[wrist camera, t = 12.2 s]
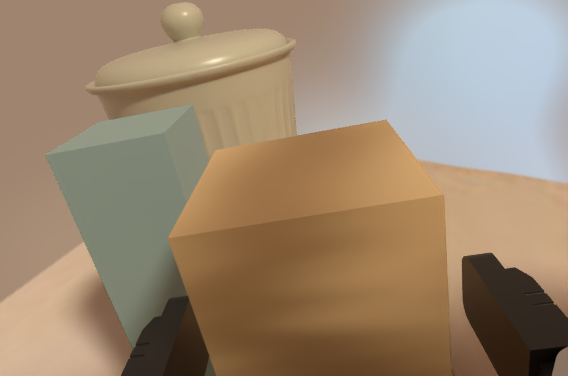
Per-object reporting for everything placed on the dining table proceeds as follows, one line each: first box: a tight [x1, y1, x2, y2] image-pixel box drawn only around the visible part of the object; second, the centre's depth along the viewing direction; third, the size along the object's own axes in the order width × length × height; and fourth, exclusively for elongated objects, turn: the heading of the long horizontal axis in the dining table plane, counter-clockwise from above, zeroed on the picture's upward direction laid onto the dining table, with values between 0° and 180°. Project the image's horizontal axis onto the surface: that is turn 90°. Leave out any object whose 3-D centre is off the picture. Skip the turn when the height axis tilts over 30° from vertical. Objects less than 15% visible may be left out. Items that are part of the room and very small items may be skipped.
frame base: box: [45, 104, 454, 376], centre depth 15 cm, size 16×18×16 cm
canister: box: [85, 2, 297, 162], centre depth 38 cm, size 18×18×21 cm
